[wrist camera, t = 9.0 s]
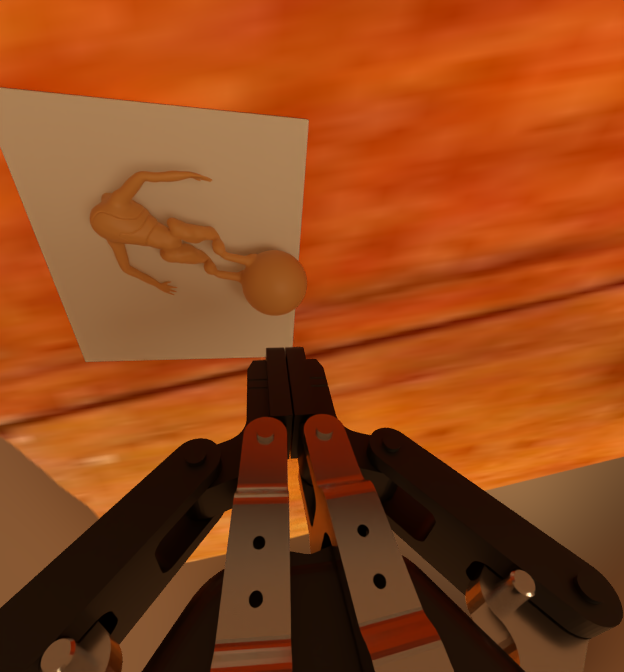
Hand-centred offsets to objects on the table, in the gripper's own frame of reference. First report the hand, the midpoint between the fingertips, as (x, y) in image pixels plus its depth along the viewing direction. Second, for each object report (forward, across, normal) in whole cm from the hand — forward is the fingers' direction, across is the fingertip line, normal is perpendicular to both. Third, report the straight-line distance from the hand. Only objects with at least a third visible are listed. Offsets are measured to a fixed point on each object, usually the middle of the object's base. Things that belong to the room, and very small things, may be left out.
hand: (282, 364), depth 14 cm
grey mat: (+11, +6, 0) cm, 12 cm away
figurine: (+6, -2, +1) cm, 7 cm away
